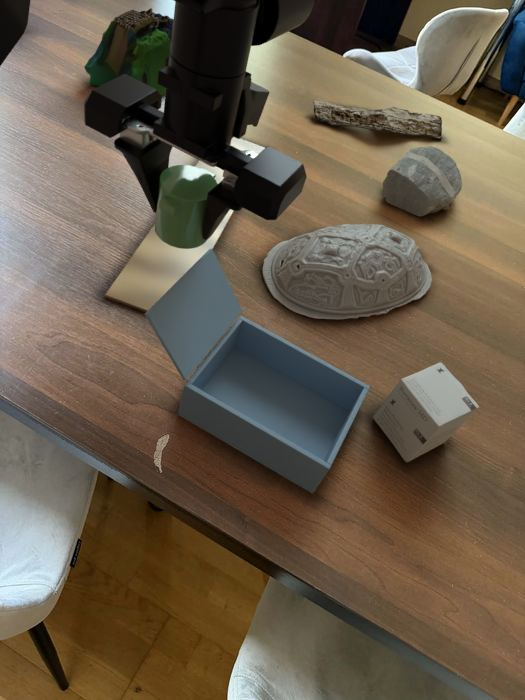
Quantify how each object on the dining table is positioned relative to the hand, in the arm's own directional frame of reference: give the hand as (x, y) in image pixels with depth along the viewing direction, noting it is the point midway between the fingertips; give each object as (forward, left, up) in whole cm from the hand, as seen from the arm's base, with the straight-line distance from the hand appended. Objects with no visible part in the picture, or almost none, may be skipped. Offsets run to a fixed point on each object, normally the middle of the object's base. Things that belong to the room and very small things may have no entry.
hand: (182, 224), depth 54 cm
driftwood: (+51, +35, -13) cm, 64 cm away
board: (+10, +16, -13) cm, 23 cm away
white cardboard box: (+19, -22, -13) cm, 32 cm away
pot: (0, 0, -1) cm, 1 cm away
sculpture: (+10, +48, -13) cm, 51 cm away
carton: (+5, -15, -13) cm, 21 cm away
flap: (0, -8, -4) cm, 9 cm away
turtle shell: (+25, +1, -13) cm, 29 cm away
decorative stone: (+46, +15, -13) cm, 51 cm away
